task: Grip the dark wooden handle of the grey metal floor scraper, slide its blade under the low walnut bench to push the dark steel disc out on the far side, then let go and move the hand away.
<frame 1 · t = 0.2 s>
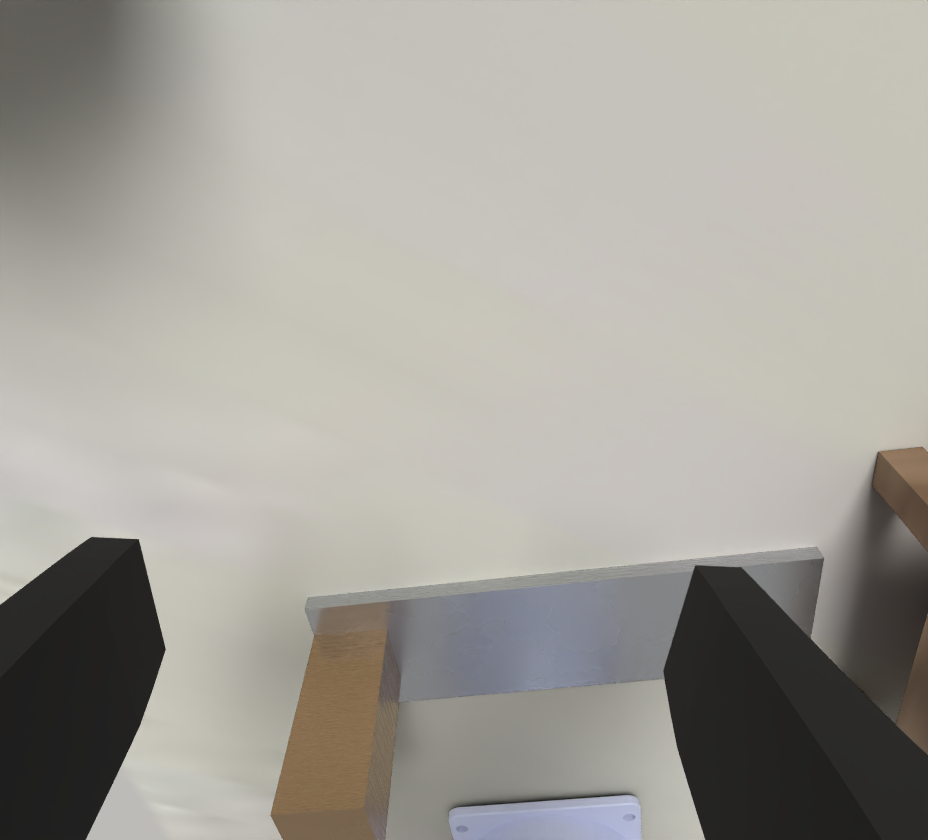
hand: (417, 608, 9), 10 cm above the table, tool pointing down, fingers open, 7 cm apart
floor scraper: (361, 639, 24), on the table
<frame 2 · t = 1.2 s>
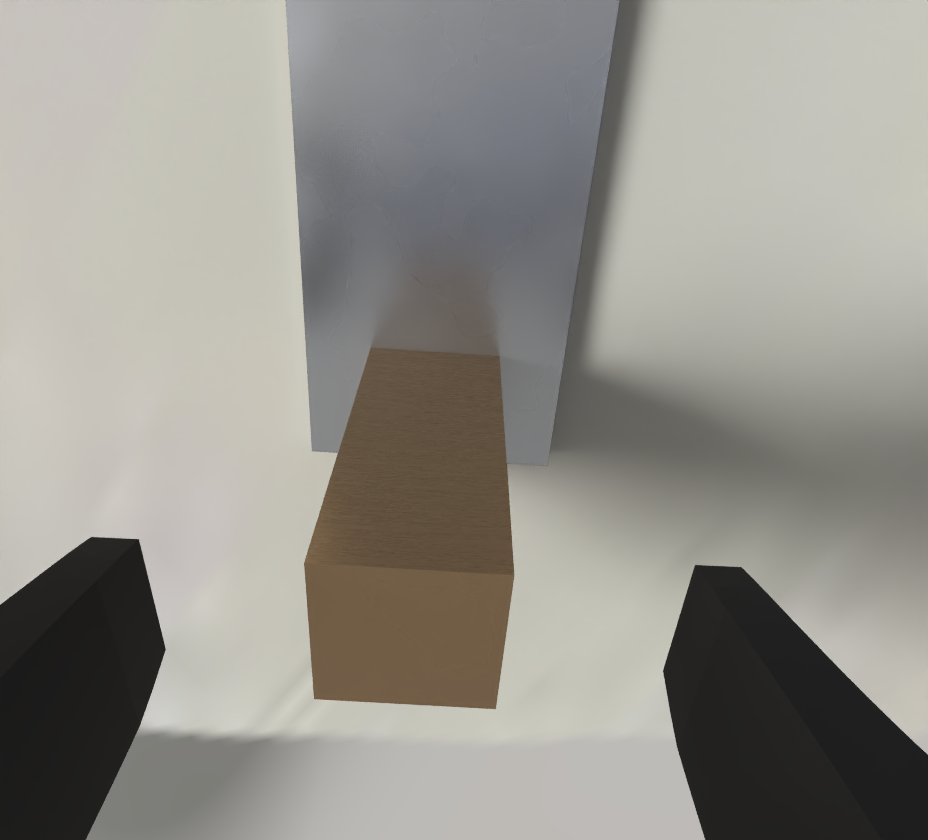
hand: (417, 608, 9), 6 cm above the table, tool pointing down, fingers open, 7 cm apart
floor scraper: (434, 388, 15), on the table
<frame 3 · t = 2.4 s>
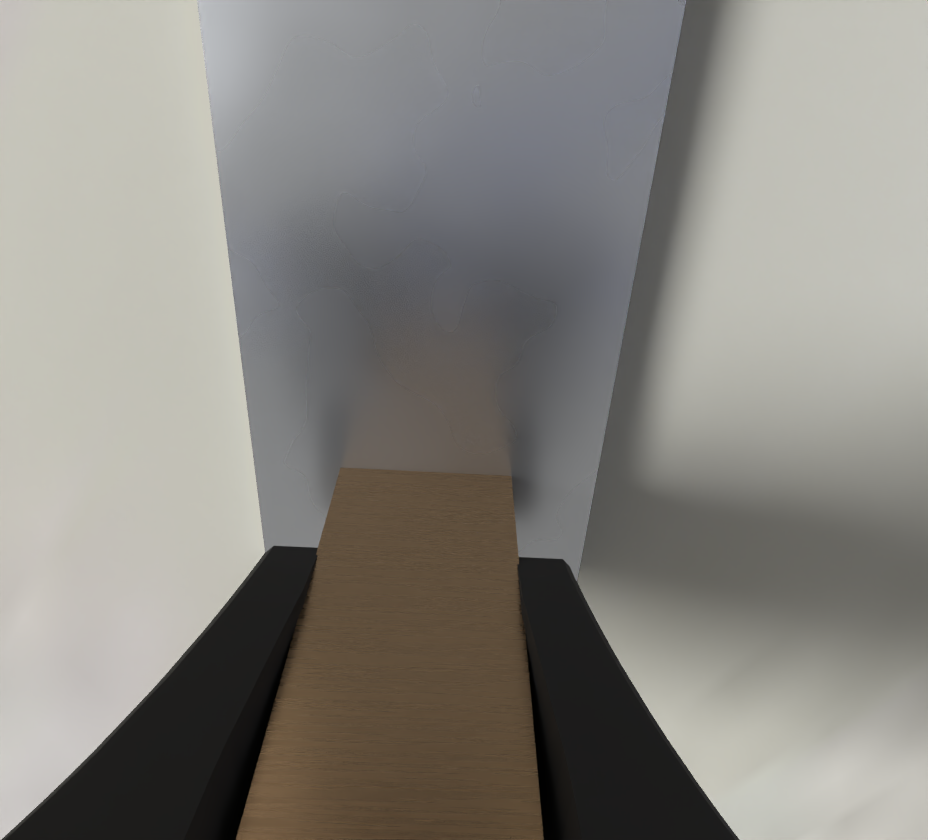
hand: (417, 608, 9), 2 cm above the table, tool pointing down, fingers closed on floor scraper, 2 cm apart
floor scraper: (426, 505, 11), on the table, touching gripper
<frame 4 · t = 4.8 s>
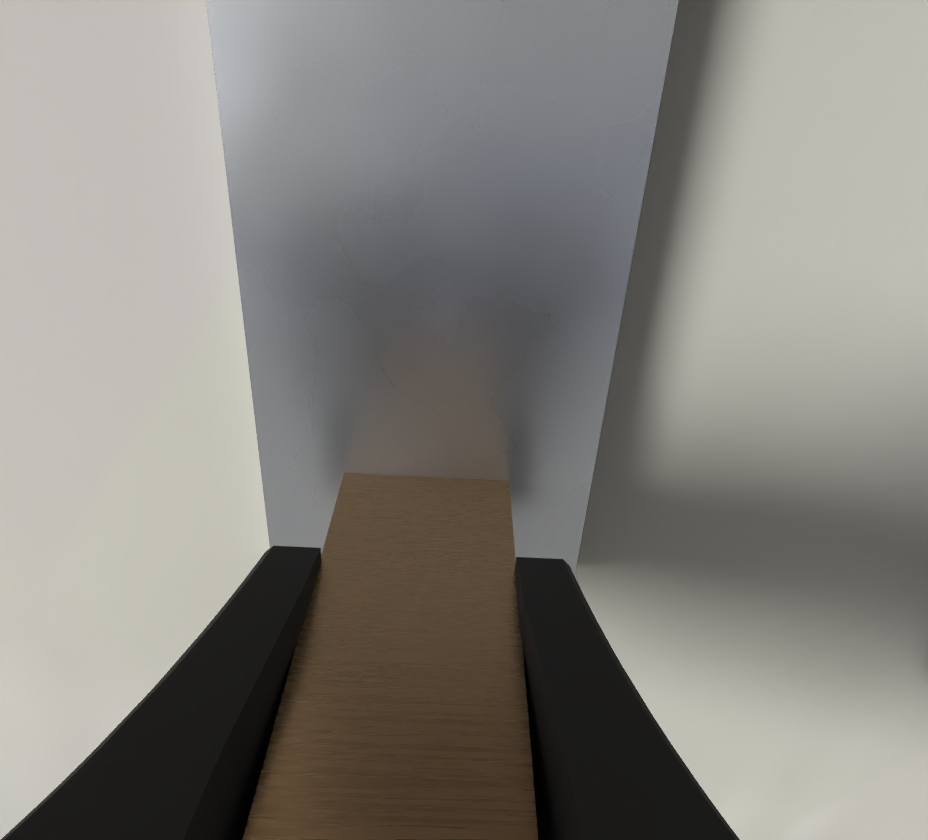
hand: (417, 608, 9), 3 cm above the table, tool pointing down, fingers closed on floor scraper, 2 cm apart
floor scraper: (427, 509, 12), on the table, touching gripper
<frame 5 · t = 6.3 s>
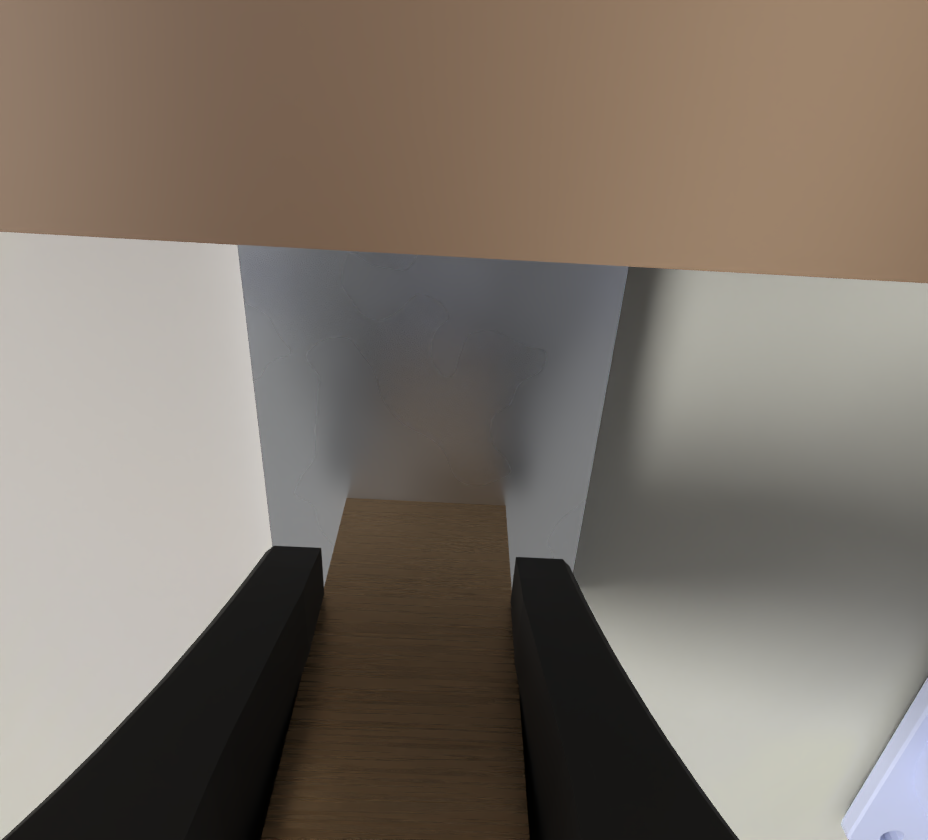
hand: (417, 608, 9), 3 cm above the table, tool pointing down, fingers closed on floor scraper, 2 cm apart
floor scraper: (426, 530, 12), on the table, touching gripper
when the fingers open (3 cm above the table, at t = 7.2 s): floor scraper stays where it is, on the table.
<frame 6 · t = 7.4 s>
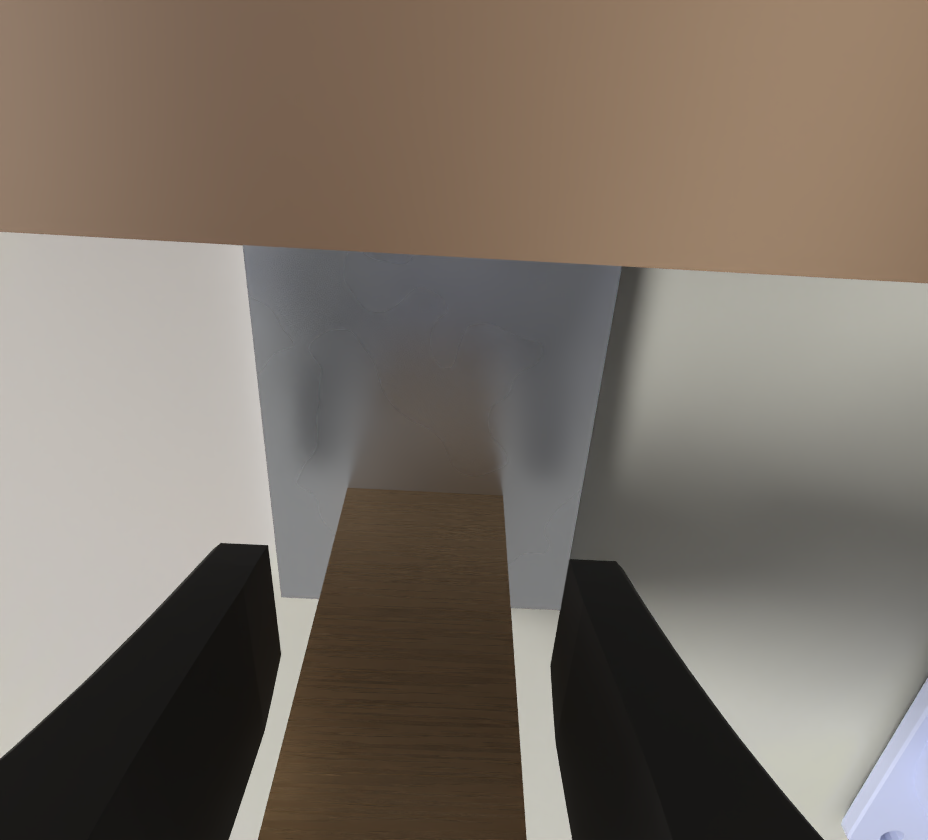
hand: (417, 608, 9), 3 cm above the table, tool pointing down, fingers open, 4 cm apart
floor scraper: (425, 520, 12), on the table
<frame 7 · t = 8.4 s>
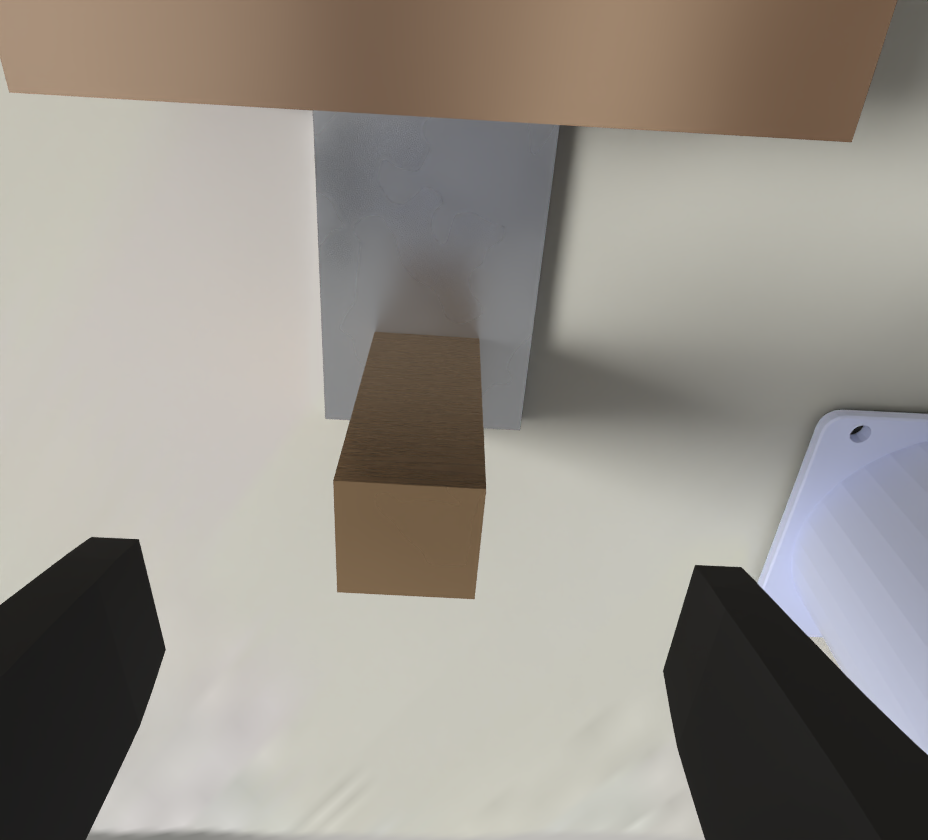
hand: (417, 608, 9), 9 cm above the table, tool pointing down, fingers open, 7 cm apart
floor scraper: (426, 366, 18), on the table
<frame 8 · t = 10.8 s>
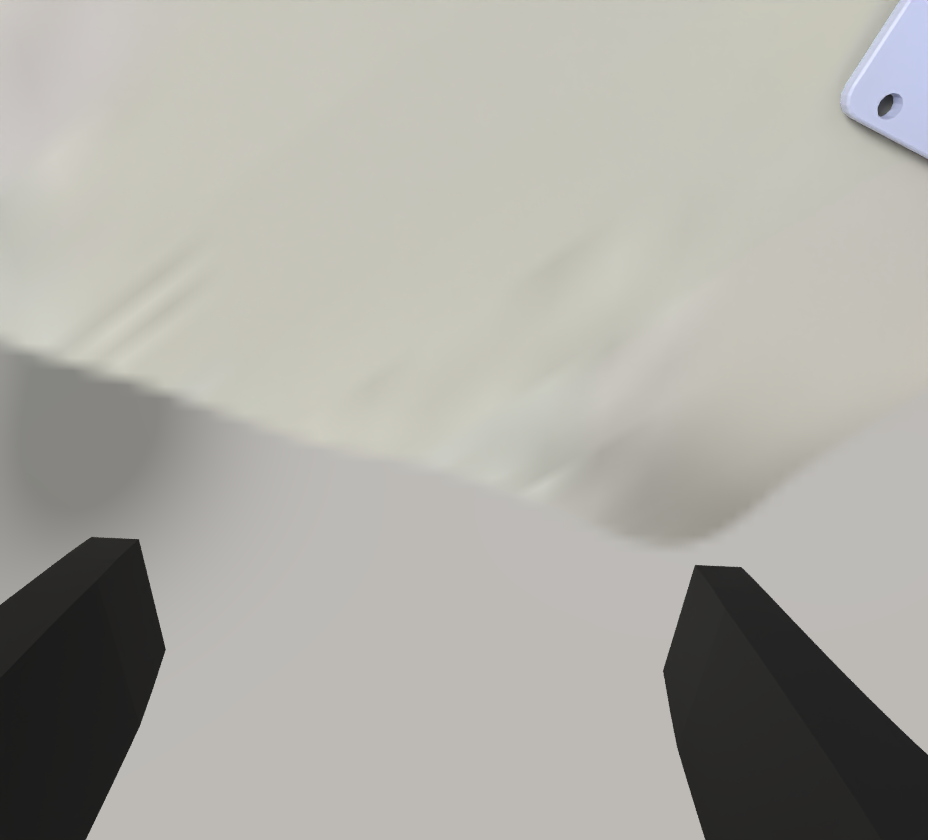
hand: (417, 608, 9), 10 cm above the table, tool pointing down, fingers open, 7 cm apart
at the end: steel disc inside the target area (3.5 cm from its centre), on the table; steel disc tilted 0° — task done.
